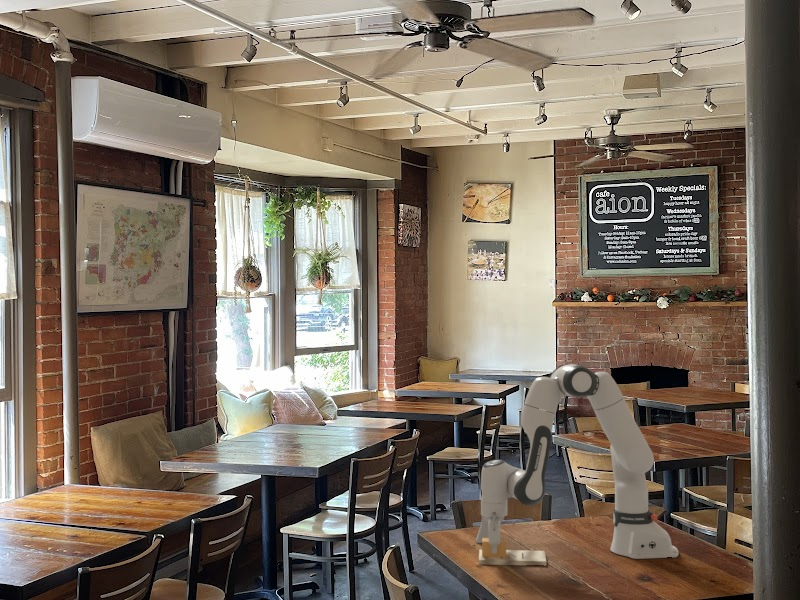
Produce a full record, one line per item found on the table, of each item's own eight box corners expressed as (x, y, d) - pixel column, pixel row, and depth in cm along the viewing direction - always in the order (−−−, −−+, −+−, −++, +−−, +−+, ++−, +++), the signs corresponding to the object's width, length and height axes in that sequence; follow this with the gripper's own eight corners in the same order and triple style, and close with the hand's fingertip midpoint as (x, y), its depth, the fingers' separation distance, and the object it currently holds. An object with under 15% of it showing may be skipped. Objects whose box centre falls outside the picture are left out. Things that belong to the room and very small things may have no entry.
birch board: (544, 555, 316) (544, 550, 316) (546, 565, 304) (546, 561, 304) (479, 553, 318) (479, 549, 318) (478, 564, 306) (478, 559, 306)
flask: (494, 545, 329) (494, 516, 328) (474, 544, 330) (473, 516, 330) (496, 539, 336) (496, 512, 336) (476, 538, 337) (476, 511, 337)
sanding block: (506, 553, 313) (506, 538, 313) (506, 557, 309) (506, 542, 309) (482, 552, 314) (482, 537, 314) (482, 556, 310) (482, 541, 310)
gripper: (504, 517, 301) (504, 559, 301) (503, 502, 321) (503, 542, 321) (484, 516, 301) (484, 559, 302) (484, 502, 322) (485, 541, 322)
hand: (494, 550), depth 312 cm, fingers closed on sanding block, 4 cm apart
